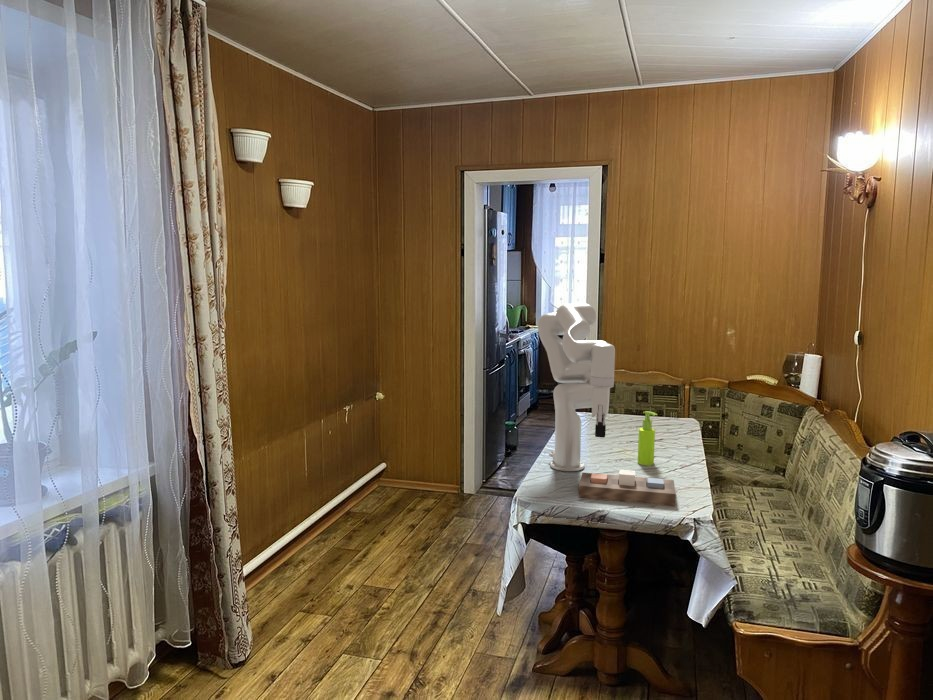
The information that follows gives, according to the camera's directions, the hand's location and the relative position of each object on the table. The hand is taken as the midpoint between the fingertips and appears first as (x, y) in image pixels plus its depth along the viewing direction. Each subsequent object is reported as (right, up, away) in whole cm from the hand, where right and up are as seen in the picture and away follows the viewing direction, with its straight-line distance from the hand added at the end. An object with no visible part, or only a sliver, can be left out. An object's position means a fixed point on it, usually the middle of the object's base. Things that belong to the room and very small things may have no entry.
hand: (600, 436), depth 219 cm
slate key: (+17, -18, -2) cm, 25 cm away
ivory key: (+9, -16, 0) cm, 18 cm away
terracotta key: (0, -17, +2) cm, 17 cm away
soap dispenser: (+25, -15, +34) cm, 45 cm away
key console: (+9, -19, 0) cm, 21 cm away
